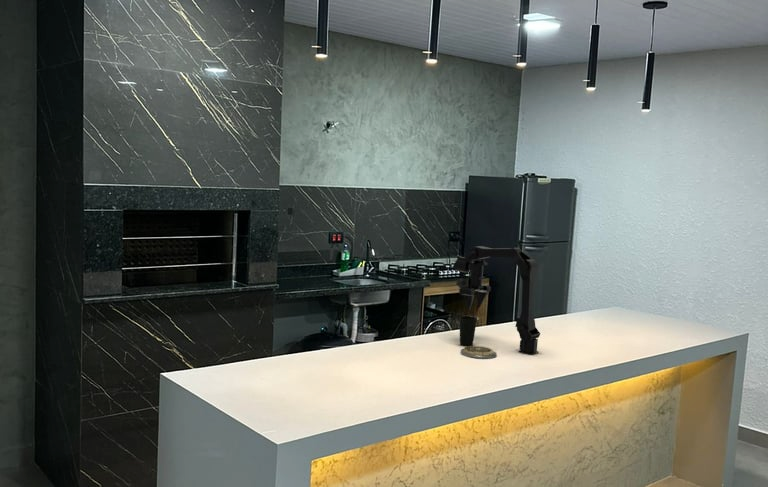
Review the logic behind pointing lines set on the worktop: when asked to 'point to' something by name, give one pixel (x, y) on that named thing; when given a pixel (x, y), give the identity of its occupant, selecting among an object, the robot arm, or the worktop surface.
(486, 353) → the flange plate
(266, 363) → the worktop surface
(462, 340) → the cup
